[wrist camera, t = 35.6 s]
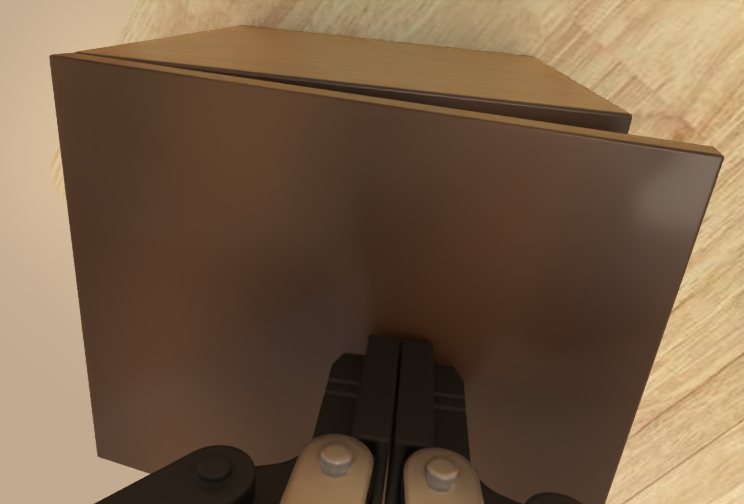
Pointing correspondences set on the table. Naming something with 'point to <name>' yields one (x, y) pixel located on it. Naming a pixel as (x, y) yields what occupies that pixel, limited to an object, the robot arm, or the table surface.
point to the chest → (385, 72)
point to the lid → (364, 264)
